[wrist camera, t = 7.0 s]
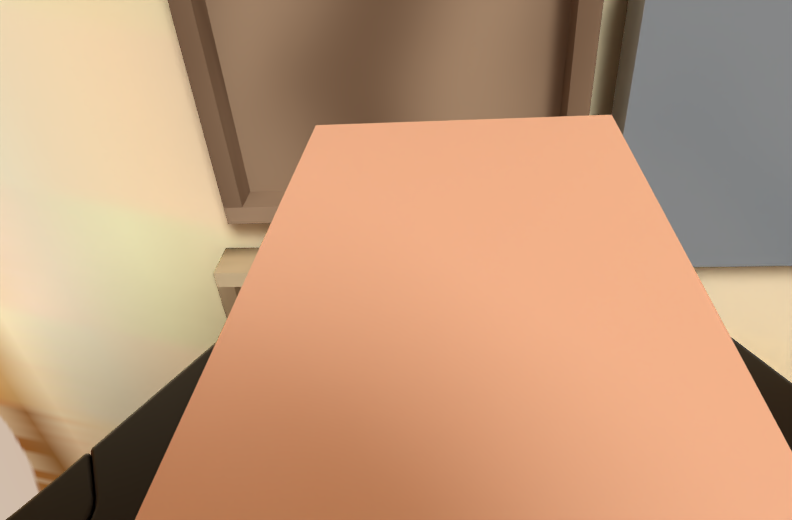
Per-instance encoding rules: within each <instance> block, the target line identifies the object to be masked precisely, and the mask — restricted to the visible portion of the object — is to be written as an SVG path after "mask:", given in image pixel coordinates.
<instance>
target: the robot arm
mask: <svg viewBox="0 0 792 520" xmlns="http://www.w3.org/2000/svg"><path fill="white" fill-rule="evenodd" d="M731 339H732V341H733V343H734V344H735V346H736V348H737V350H738V352H739V354H740V356H741V358H742V359H743V361H744V363H745V365H746V367H747V369H748V371H749V372H750V374H751V376H752V378H753V380H754V382H755V384H756V386H757V387H758V389H759V391H760V393H761V395H762V397H763V399H764V401H765V402H766V404H767V406H768V408H769V410H770V412H771V414H772V416H773V417H774V419H775V421H776V423H777V425H778V427H779V429H780V430H781V432H782V434H783V436H784V438H785V440H786V442H787V444H788V445H789V447H790V449H791V451H792V383H791V382H790V381H788V380H787V379H786V378H784V377H783V376H782V375H780V374H779V373H778V372H776V371H775V370H774V369H772V368H771V367H770V366H768V365H767V364H766V363H764V362H763V361H762V360H760V359H759V358H758V357H757V356H755V355H754V354H753V353H751V352H750V351H749V350H747V349H746V348H745V347H743V346H742V345H741V344H739V343H738V342H737V341H735V340H734V339H733V338H731ZM215 344H216V343H215ZM215 344H214V345H212V346H211V347H210V348H209V349H208V350H207V351H205V352H204V353H203V354H202V355H201V356H200V357H198V358H197V359H196V360H195V361H194V362H193V363H191V364H190V365H189V366H188V367H187V368H186V369H184V370H183V371H182V372H181V373H180V374H178V375H177V376H176V377H175V378H174V379H173V380H171V381H170V382H169V383H168V384H167V385H166V386H164V387H163V388H162V389H161V390H160V391H159V392H157V393H156V394H155V395H154V396H153V397H152V398H150V399H149V400H148V401H147V402H146V403H145V404H143V405H142V406H141V407H140V408H139V409H138V410H136V411H135V412H134V413H133V414H132V415H131V416H129V417H128V418H127V419H126V420H125V421H124V422H122V423H121V424H120V425H119V426H118V427H117V428H115V429H114V430H113V431H112V432H111V433H109V434H108V435H107V436H106V437H105V438H104V439H102V440H101V441H100V442H99V443H98V444H97V445H95V446H94V447H93V448H92V450H91V455H90V454H85V455H83V456H82V457H81V458H80V459H79V460H78V461H76V462H75V463H74V464H73V465H72V466H71V467H69V468H68V469H67V470H66V471H65V472H64V473H62V474H61V475H60V476H59V477H58V478H56V479H55V480H54V481H53V482H52V483H50V484H49V485H48V486H47V487H45V488H44V489H43V490H42V491H41V492H39V493H38V494H37V495H36V496H35V497H33V498H32V499H31V500H30V501H28V502H27V503H26V504H25V505H24V506H22V507H21V508H20V509H19V510H18V511H16V512H15V513H14V514H13V515H11V516H10V517H9V518H7V519H6V520H135V518H136V516H137V514H138V512H139V510H140V508H141V505H142V503H143V501H144V499H145V497H146V494H147V492H148V490H149V488H150V486H151V484H152V481H153V479H154V477H155V475H156V473H157V470H158V468H159V466H160V464H161V462H162V460H163V457H164V455H165V453H166V451H167V449H168V446H169V444H170V442H171V440H172V438H173V436H174V433H175V431H176V429H177V427H178V425H179V422H180V420H181V418H182V416H183V414H184V412H185V409H186V407H187V405H188V403H189V401H190V398H191V396H192V394H193V392H194V390H195V388H196V385H197V383H198V381H199V379H200V377H201V375H202V372H203V370H204V368H205V366H206V364H207V361H208V359H209V357H210V355H211V353H212V351H213V348H214V346H215Z"/></svg>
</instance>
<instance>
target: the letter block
mask: <svg viewBox="0 0 792 520" xmlns="http://www.w3.org/2000/svg"><path fill="white" fill-rule="evenodd" d="M135 520H792V451H791V449H790V447H789V445H788V444H787V442H786V440H785V438H784V436H783V434H782V432H781V430H780V429H779V427H778V425H777V423H776V421H775V419H774V417H773V416H772V414H771V412H770V410H769V408H768V406H767V404H766V402H765V401H764V399H763V397H762V395H761V393H760V391H759V389H758V387H757V386H756V384H755V382H754V380H753V378H752V376H751V374H750V372H749V371H748V369H747V367H746V365H745V363H744V361H743V359H742V358H741V356H740V354H739V352H738V350H737V348H736V346H735V344H734V343H733V341H732V339H731V337H730V335H729V333H728V331H727V329H726V328H725V326H724V324H723V322H722V320H721V318H720V316H719V314H718V313H717V311H716V309H715V307H714V305H713V303H712V301H711V300H710V298H709V296H708V294H707V292H706V290H705V288H704V286H703V285H702V283H701V281H700V279H699V277H698V275H697V273H696V271H695V270H694V268H693V266H692V264H691V262H690V260H689V258H688V257H687V255H686V253H685V251H684V249H683V247H682V245H681V243H680V242H679V240H678V238H677V236H676V234H675V232H674V230H673V228H672V227H671V225H670V223H669V221H668V219H667V217H666V215H665V213H664V212H663V210H662V208H661V206H660V204H659V202H658V200H657V199H656V197H655V195H654V193H653V191H652V189H651V187H650V185H649V184H648V182H647V180H646V178H645V176H644V174H643V172H642V170H641V169H640V167H639V165H638V163H637V161H636V159H635V157H634V155H633V154H632V152H631V150H630V148H629V146H628V144H627V142H626V141H625V139H624V137H623V135H622V133H621V131H620V129H619V127H618V126H617V124H616V122H615V120H614V118H613V116H612V115H590V116H561V117H533V118H505V119H477V120H448V121H420V122H392V123H364V124H335V125H316V126H315V128H314V130H313V133H312V135H311V137H310V139H309V141H308V143H307V146H306V148H305V150H304V152H303V154H302V157H301V159H300V161H299V163H298V165H297V167H296V170H295V172H294V174H293V176H292V178H291V180H290V183H289V185H288V187H287V189H286V191H285V194H284V196H283V198H282V200H281V202H280V204H279V207H278V209H277V211H276V213H275V215H274V218H273V220H272V222H271V224H270V226H269V228H268V231H267V233H266V235H265V237H264V239H263V242H262V244H261V246H260V248H259V250H258V252H257V255H256V257H255V259H254V261H253V263H252V266H251V268H250V270H249V272H248V274H247V276H246V279H245V281H244V283H243V285H242V287H241V289H240V292H239V294H238V296H237V298H236V300H235V303H234V305H233V307H232V309H231V311H230V313H229V316H228V318H227V320H226V322H225V324H224V327H223V329H222V331H221V333H220V335H219V337H218V340H217V342H216V344H215V346H214V348H213V351H212V353H211V355H210V357H209V359H208V361H207V364H206V366H205V368H204V370H203V372H202V375H201V377H200V379H199V381H198V383H197V385H196V388H195V390H194V392H193V394H192V396H191V398H190V401H189V403H188V405H187V407H186V409H185V412H184V414H183V416H182V418H181V420H180V422H179V425H178V427H177V429H176V431H175V433H174V436H173V438H172V440H171V442H170V444H169V446H168V449H167V451H166V453H165V455H164V457H163V460H162V462H161V464H160V466H159V468H158V470H157V473H156V475H155V477H154V479H153V481H152V484H151V486H150V488H149V490H148V492H147V494H146V497H145V499H144V501H143V503H142V505H141V508H140V510H139V512H138V514H137V516H136V518H135Z"/></svg>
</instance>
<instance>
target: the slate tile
mask: <svg viewBox="0 0 792 520" xmlns="http://www.w3.org/2000/svg"><path fill="white" fill-rule="evenodd" d="M611 115H612V116H613V118H614V120H615V122H616V124H617V126H618V127H619V129H620V131H621V133H622V135H623V137H624V139H625V141H626V142H627V144H628V146H629V148H630V150H631V152H632V154H633V155H634V157H635V159H636V161H637V163H638V165H639V167H640V169H641V170H642V172H643V174H644V176H645V178H646V180H647V182H648V184H649V185H650V187H651V189H652V191H653V193H654V195H655V197H656V199H657V200H658V202H659V204H660V206H661V208H662V210H663V212H664V213H665V215H666V217H667V219H668V221H669V223H670V225H671V227H672V228H673V230H674V232H675V234H676V236H677V238H678V240H679V242H680V243H681V245H682V247H683V249H684V251H685V253H686V255H687V257H688V258H689V260H690V262H691V264H692V266H693V267H736V266H792V0H628V6H627V12H626V19H625V26H624V33H623V39H622V46H621V53H620V60H619V66H618V73H617V80H616V86H615V93H614V100H613V107H612V113H611Z"/></svg>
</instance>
